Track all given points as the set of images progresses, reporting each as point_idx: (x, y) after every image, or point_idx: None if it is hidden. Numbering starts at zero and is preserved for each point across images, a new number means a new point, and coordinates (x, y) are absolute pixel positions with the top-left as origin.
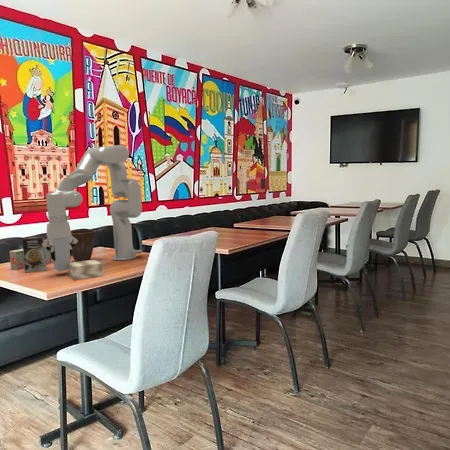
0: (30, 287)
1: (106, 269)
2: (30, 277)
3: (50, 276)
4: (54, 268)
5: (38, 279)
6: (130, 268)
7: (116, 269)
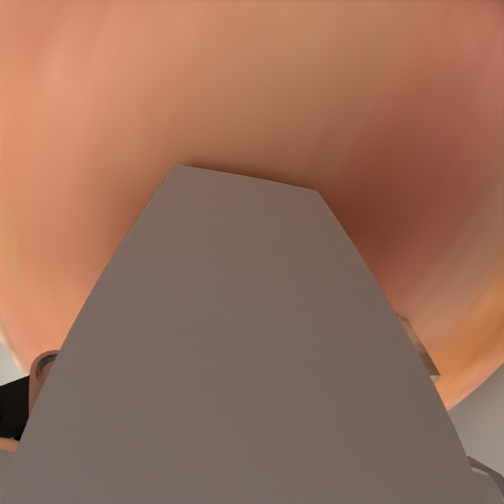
0: (28, 373)
1: (463, 304)
2: (13, 129)
3: (127, 217)
4: (175, 165)
5: (46, 248)
6: (489, 355)
7: (469, 337)
